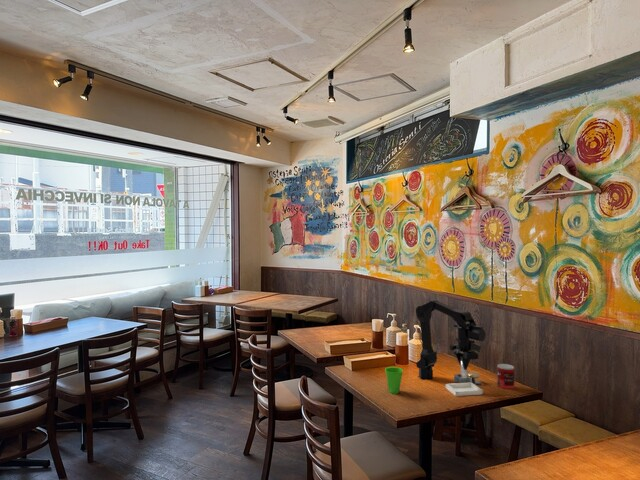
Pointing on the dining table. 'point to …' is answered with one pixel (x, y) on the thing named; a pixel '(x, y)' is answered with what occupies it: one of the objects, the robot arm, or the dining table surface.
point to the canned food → (505, 376)
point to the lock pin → (463, 371)
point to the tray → (464, 389)
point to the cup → (394, 379)
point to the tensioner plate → (467, 380)
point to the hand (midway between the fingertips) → (463, 368)
